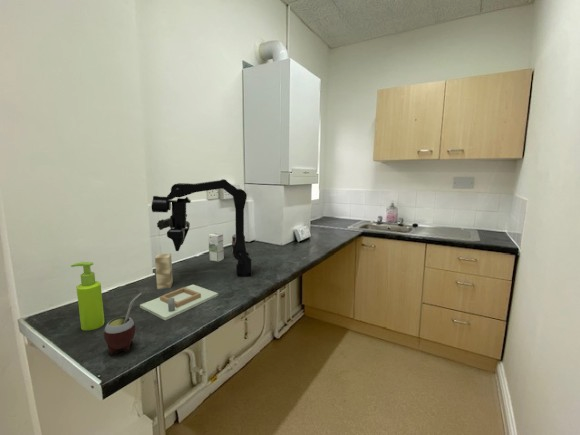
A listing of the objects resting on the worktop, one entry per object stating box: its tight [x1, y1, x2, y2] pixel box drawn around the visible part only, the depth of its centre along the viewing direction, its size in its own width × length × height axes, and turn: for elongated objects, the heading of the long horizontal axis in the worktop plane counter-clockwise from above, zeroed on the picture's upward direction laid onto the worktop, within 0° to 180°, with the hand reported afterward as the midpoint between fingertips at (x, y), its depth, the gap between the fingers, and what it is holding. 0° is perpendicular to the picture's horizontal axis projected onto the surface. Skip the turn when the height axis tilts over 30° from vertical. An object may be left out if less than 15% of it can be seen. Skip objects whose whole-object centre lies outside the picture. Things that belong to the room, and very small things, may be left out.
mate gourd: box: [103, 292, 142, 357], centre depth 73 cm, size 8×8×15 cm
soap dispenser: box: [70, 261, 105, 332], centre depth 83 cm, size 6×7×20 cm
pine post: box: [154, 253, 174, 290], centre depth 114 cm, size 5×5×13 cm
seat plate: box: [139, 284, 219, 321], centre depth 101 cm, size 22×15×5 cm
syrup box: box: [207, 232, 225, 263], centre depth 148 cm, size 6×6×14 cm
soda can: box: [231, 233, 246, 256], centre depth 157 cm, size 7×7×12 cm
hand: (179, 247), depth 121 cm, fingers open, 9 cm apart
